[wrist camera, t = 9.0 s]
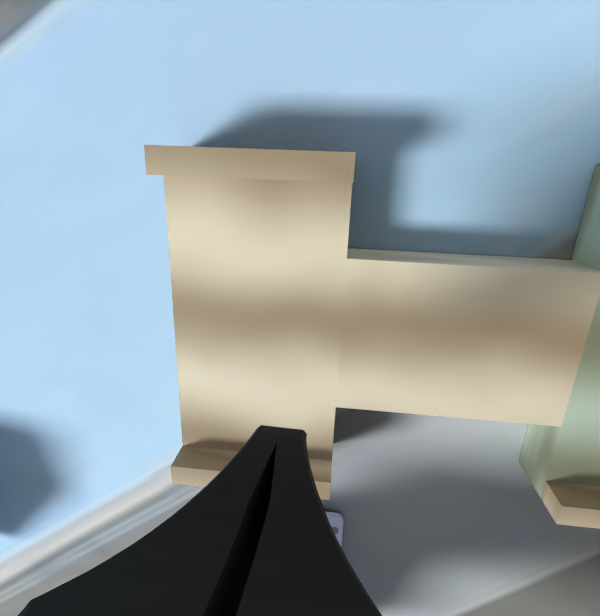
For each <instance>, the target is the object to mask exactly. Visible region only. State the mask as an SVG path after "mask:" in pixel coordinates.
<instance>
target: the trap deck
mask: <svg viewBox="0 0 600 616" xmlns="http://www.w3.org/2000/svg"><path fill="white" fill-rule="evenodd" d="M144 149H145V161H146V173H147V175H164V183H165V198H166V212H167V226H168V240H169V255H170V269H171V283H172V298H173V312H174V326H175V340H176V355H177V369H178V383H179V398H180V412H181V426H182V441H183V446H182V448H181V450H180V452H179V453H178V455H177V457H176V458H175V460H174V462H173V464H172V465H171V474H172V483H173V484H182V485H192V486H201V487H205V486H206V485H207V484H208V483H210V482H211V481H212V480H213V479H214V478H215V477H216V476H217V475H218V474H219V473H220V472H221V471H222V470H223V468H224V467H225V466H226V465H227V464H228V463H229V462H230V461H231V460H232V458H233V457H234V456H235V455H236V454H237V453H238V452H239V451H240V449H241V448H242V447H243V446H244V445H245V443H246V442H247V441H248V440H249V438H250V437H251V436H252V434H253V433H254V432H255V430H256V429H257V428H258V427H259V426H261V425H265V426H274V427H283V428H292V429H301V430H304V431H305V432H306V433H307V438H306V442H307V451H308V457H309V462H310V466H311V470H312V474H313V477H314V481H315V484H316V488H317V491H318V494H319V497H320V499H324V500H330V487H331V466H332V450H333V436H334V423H335V410H336V407H339V408H351V409H362V410H374V411H385V412H397V413H409V414H420V415H432V416H443V417H455V418H466V419H478V420H489V421H501V422H512V423H524V424H529V425H528V429H527V433H526V437H525V441H524V444H523V448H522V452H521V456H520V460H519V463H520V465H521V467H522V468H523V470H524V472H525V473H526V475H527V477H528V478H529V480H530V481H531V483H532V485H533V486H534V488H535V490H536V491H537V493H538V495H539V496H540V498H541V500H542V501H543V503H544V505H545V506H546V508H547V509H548V511H549V513H550V514H551V516H552V518H553V519H554V521H555V523H556V524H560V525H569V526H579V527H588V528H598V529H600V165H596V166H595V170H594V174H593V178H592V181H591V185H590V189H589V193H588V197H587V201H586V205H585V208H584V212H583V216H582V220H581V224H580V228H579V232H578V236H577V239H576V243H575V247H574V251H573V255H572V259H571V260H563V259H544V258H525V257H507V256H488V255H469V254H451V253H432V252H413V251H395V250H376V249H357V248H348V236H349V222H350V209H351V195H352V183H354V170H355V157H356V152H338V151H309V150H279V149H250V148H220V147H190V146H161V145H144Z"/></svg>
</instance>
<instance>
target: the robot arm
mask: <svg viewBox="0 0 600 616" xmlns="http://www.w3.org/2000/svg"><path fill="white" fill-rule="evenodd" d="M306 438H307V433H306V432H305V431H304V430H301V429H292V428H283V427H274V426H265V425H261V426H259V427H258V428H257V429H256V430H255V432H254V433H253V434H252V436H251V437H250V438H249V440H248V441H247V442H246V443H245V445H244V446H243V447H242V448H241V449H240V451H239V452H238V453H237V454H236V455H235V456H234V457H233V458H232V460H231V461H230V462H229V463H228V464H227V465H226V466H225V467H224V468H223V470H222V471H221V472H220V473H219V474H218V475H217V476H216V477H215V478H214V479H213V480H212V481H211V482H210V483H208V484H207V485H206V486H205V487H204V488H203V489H202V490H201V491H200V492H199V493H198V494H197V495H196V496H195V497H194V498H193V499H191V500H190V501H189V502H188V503H187V504H186V505H184V506H183V507H182V508H181V509H180V510H178V511H177V512H176V513H175V514H174V515H172V516H171V517H170V518H169V519H167V520H166V521H164V522H163V523H162V524H160V525H159V526H158V527H156V528H155V529H154V530H152V531H151V532H150V533H148V534H147V535H145V536H144V537H143V538H141V539H140V540H138V541H137V542H135V543H134V544H132V545H131V546H129V547H128V548H126V549H124V550H123V551H121V552H119V553H118V554H116V555H115V556H113V557H111V558H110V559H108V560H107V561H105V562H103V563H101V564H100V565H98V566H96V567H95V568H93V569H91V570H89V571H87V572H86V573H84V574H82V575H80V576H78V577H76V578H74V579H72V580H70V581H68V582H66V583H64V584H62V585H60V586H58V587H56V588H54V589H53V590H51V591H49V592H47V593H45V594H43V595H41V596H39V597H36V598H34V599H32V600H31V601H30V602H29V603H28V604H27V606H26V607H25V608H24V609H23V610H22V611H21V613H20V614H19V615H18V616H382V615H381V613H380V612H379V610H378V609H377V607H376V606H375V604H374V603H373V601H372V600H371V598H370V597H369V595H368V594H367V592H366V590H365V589H364V587H363V585H362V584H361V582H360V580H359V578H358V577H357V575H356V573H355V572H354V570H353V568H352V567H351V565H350V563H349V561H348V560H347V558H346V556H345V554H344V552H343V550H342V548H341V545H342V535H343V517H342V515H340V514H339V513H335V512H326V511H325V510H324V508H323V505H322V502H321V499H320V497H319V494H318V491H317V488H316V484H315V481H314V477H313V474H312V470H311V466H310V462H309V457H308V451H307V442H306ZM332 527H336V528H332Z"/></svg>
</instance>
